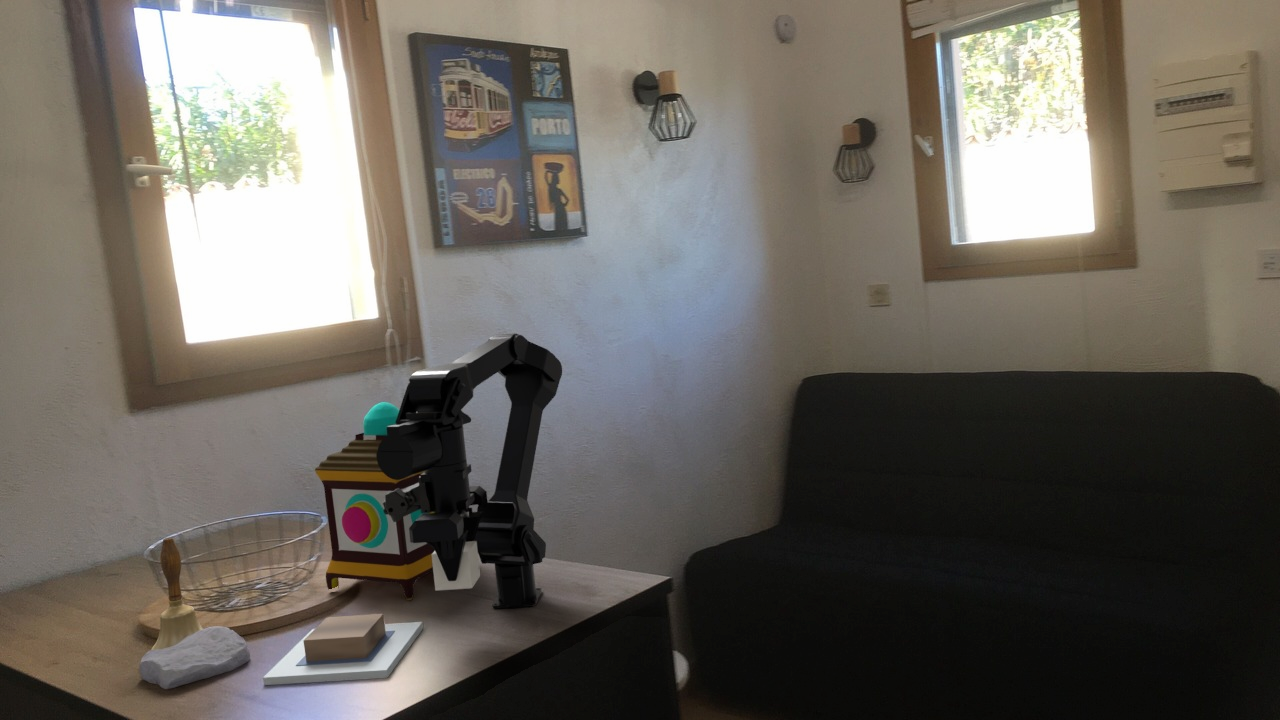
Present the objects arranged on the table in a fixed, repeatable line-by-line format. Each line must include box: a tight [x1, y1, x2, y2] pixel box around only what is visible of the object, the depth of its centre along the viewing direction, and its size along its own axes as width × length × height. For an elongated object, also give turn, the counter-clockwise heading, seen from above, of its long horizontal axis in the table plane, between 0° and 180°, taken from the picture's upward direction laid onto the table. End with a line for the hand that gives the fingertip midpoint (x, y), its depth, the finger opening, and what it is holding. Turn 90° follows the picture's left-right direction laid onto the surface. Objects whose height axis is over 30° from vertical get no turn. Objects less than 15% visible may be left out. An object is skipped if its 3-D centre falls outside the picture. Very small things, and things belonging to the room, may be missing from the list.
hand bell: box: [150, 537, 204, 650], centre depth 137 cm, size 8×8×16 cm
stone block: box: [138, 625, 251, 690], centre depth 128 cm, size 12×5×10 cm
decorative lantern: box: [314, 401, 435, 601], centre depth 158 cm, size 20×20×30 cm
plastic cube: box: [431, 541, 481, 592], centre depth 131 cm, size 5×5×5 cm
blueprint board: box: [262, 613, 424, 686], centre depth 129 cm, size 16×16×4 cm
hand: (457, 574), depth 131 cm, fingers closed on plastic cube, 5 cm apart
